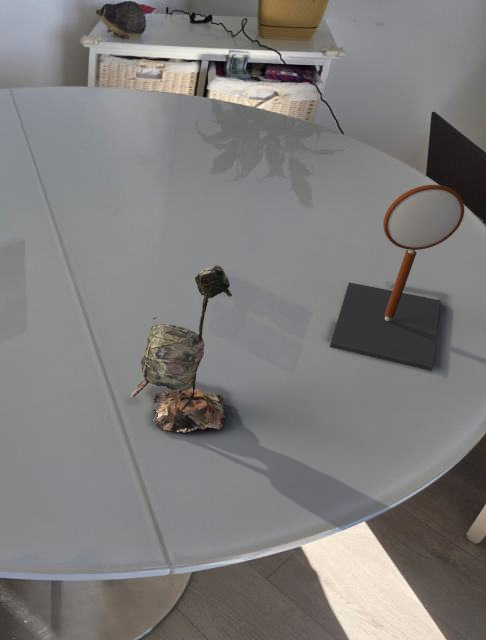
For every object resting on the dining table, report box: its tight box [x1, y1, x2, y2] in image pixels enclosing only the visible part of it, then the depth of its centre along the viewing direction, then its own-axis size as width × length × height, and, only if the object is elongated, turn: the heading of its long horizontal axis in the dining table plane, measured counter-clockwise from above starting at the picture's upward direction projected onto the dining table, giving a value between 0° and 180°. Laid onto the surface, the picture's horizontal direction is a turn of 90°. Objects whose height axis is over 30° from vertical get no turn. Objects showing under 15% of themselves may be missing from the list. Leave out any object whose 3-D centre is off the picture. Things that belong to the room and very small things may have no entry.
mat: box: [329, 282, 441, 372], centre depth 88 cm, size 12×16×1 cm
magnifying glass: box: [382, 184, 465, 321], centre depth 81 cm, size 9×2×20 cm, turn 80°
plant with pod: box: [130, 264, 233, 433], centre depth 72 cm, size 8×11×20 cm
